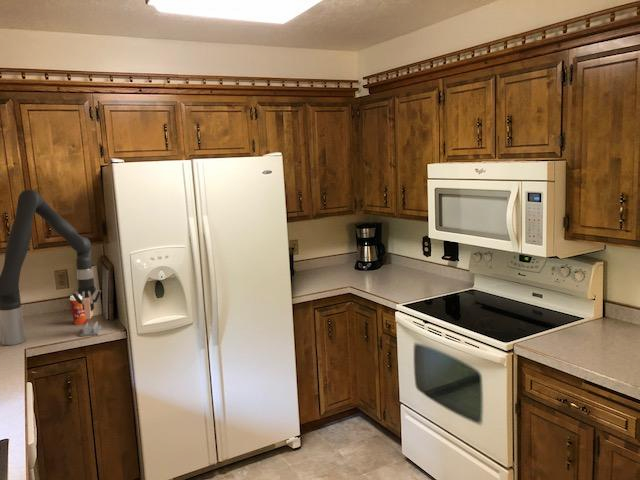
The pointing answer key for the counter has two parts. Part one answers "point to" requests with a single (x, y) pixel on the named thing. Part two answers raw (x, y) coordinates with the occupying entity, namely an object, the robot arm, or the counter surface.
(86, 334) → the blue grey crystal cluster
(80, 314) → the coffee cup
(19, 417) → the counter surface
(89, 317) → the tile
